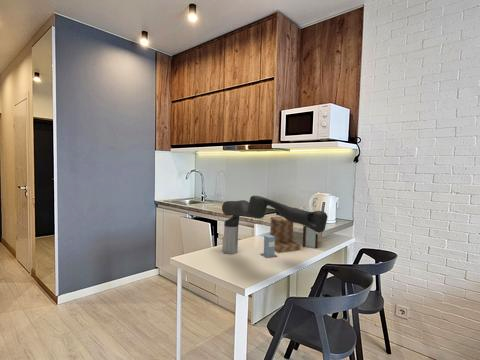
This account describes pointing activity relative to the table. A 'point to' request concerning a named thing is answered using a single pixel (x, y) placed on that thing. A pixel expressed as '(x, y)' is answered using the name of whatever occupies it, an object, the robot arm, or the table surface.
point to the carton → (269, 245)
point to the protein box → (309, 237)
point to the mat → (268, 256)
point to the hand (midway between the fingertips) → (281, 210)
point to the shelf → (283, 235)
